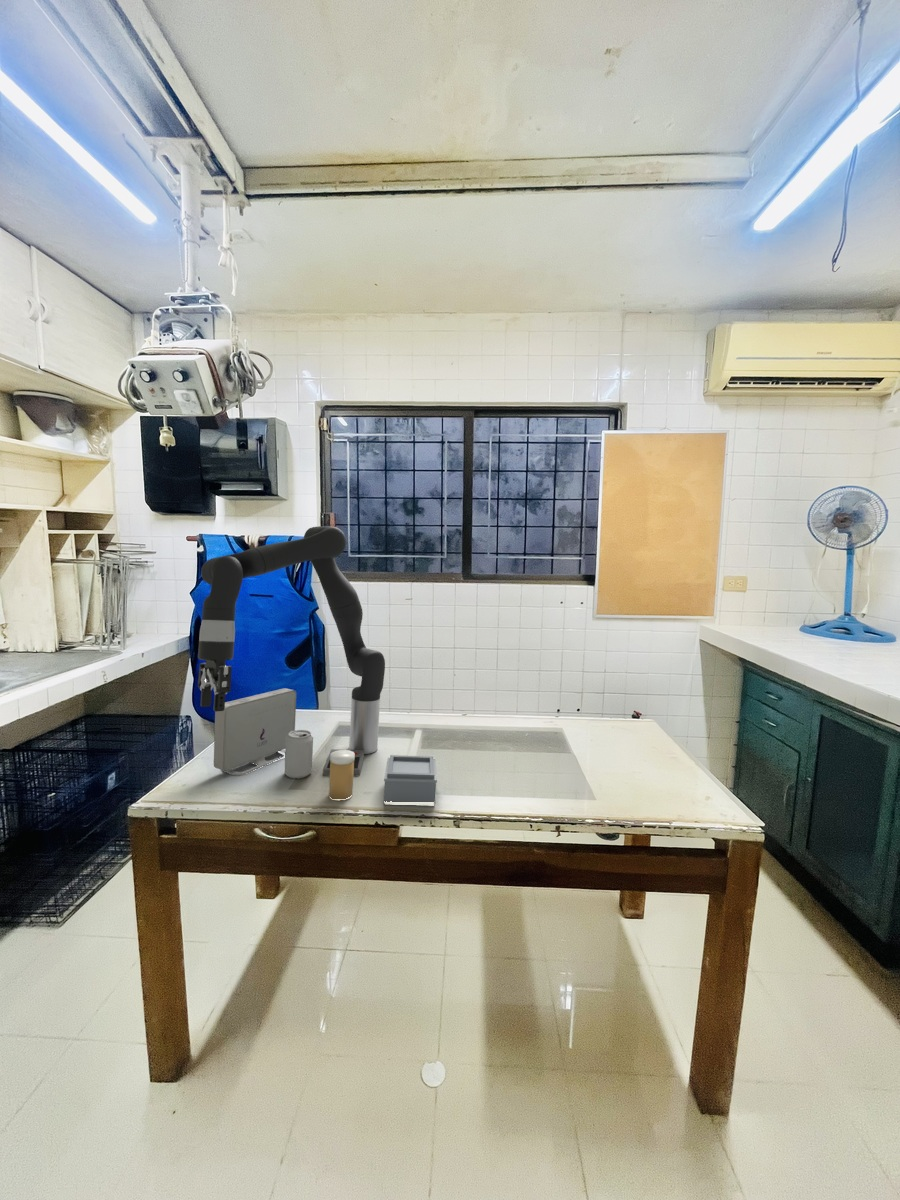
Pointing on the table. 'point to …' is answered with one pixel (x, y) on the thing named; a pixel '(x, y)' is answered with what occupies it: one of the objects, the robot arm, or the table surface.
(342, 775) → the glass of beer
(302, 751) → the can
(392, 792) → the grey case
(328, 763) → the electronic device
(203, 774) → the table surface
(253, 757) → the network device
